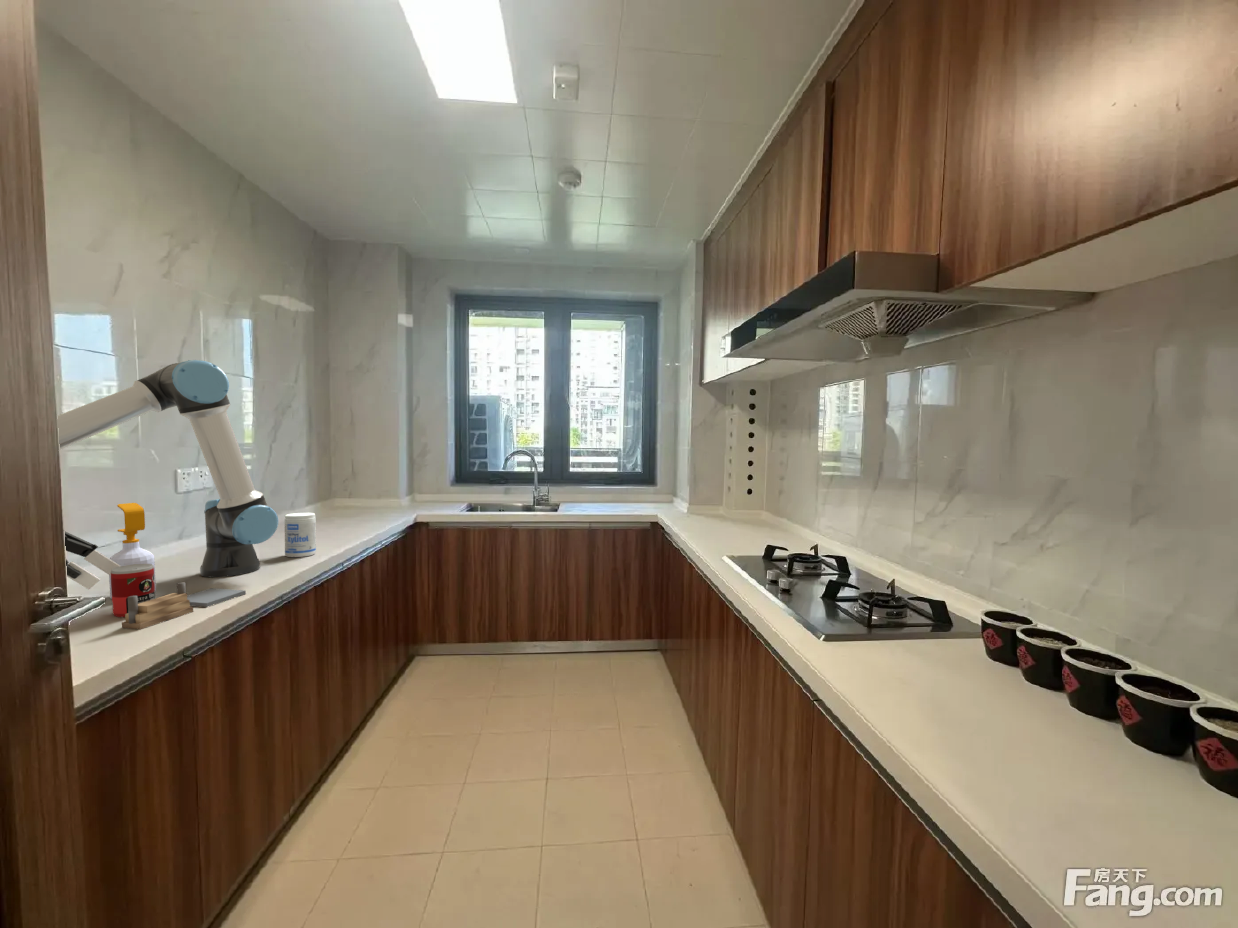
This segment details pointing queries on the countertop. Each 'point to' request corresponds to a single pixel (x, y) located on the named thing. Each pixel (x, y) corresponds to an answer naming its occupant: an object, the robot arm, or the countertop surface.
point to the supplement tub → (300, 534)
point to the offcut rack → (157, 609)
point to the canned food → (131, 586)
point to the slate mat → (213, 596)
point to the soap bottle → (132, 539)
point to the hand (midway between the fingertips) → (105, 577)
